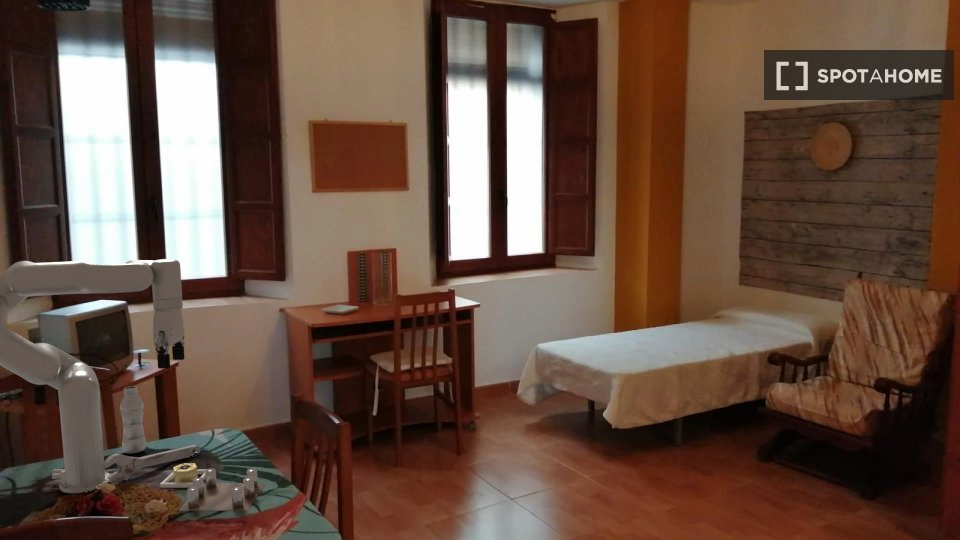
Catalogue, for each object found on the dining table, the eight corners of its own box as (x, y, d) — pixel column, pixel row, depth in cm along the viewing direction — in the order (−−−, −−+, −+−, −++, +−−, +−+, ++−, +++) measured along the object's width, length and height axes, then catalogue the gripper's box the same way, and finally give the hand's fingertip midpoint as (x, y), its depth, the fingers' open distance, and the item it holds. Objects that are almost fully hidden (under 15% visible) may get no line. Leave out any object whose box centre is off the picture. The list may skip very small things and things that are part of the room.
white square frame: (160, 491, 200) (160, 483, 199) (175, 476, 209) (175, 469, 209) (197, 490, 200) (196, 483, 199) (210, 476, 209) (210, 469, 209)
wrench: (199, 463, 227) (105, 487, 201) (195, 462, 228) (101, 485, 202) (201, 436, 227) (106, 457, 201) (197, 435, 228) (102, 456, 202)
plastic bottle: (130, 448, 232) (126, 384, 229) (151, 448, 231) (147, 385, 228) (117, 455, 225) (113, 390, 223) (138, 456, 225) (134, 391, 222)
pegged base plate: (182, 508, 187) (181, 491, 186) (204, 484, 201) (203, 468, 201) (245, 508, 186) (244, 491, 186) (262, 484, 201) (262, 468, 200)
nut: (169, 485, 202) (168, 471, 201) (178, 477, 207) (177, 463, 207) (193, 485, 202) (192, 471, 201) (201, 477, 207) (200, 463, 207)
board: (178, 514, 186) (177, 510, 186) (203, 486, 202) (203, 483, 202) (246, 514, 186) (246, 510, 186) (266, 486, 202) (266, 483, 202)
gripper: (167, 298, 219) (171, 356, 221) (140, 309, 202) (144, 371, 204) (193, 298, 219) (196, 356, 221) (168, 309, 202) (172, 371, 204)
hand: (171, 363), depth 212 cm, fingers open, 9 cm apart
